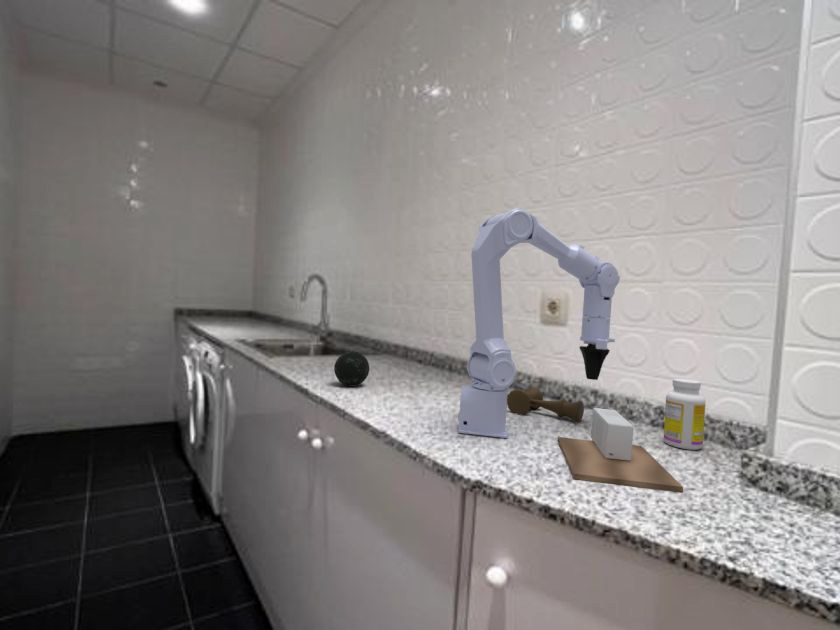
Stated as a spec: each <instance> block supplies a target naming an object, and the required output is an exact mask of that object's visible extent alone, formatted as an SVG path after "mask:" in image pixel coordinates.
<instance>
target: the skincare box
mask: <svg viewBox="0 0 840 630" xmlns="http://www.w3.org/2000/svg"><path fill="white" fill-rule="evenodd" d="M591 419H592V420H591V430H590V439H591V441H594V443H595V444H596V446H597V447H598V448H599V450H600V451H601V453H602V454H603V456H604V457H605V458H607V459H618V460H627V461H631V454H632V445H633V438H634V437H633V436H634V426H633V424H631V423H630V422H629V421H628V420H627V419H626V418H625V417H624V416H622V415H621V414H620V413H619V412H618V411H617V410H616V409H608V408H599V407H593V408H592V418H591Z"/></svg>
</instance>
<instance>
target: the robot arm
mask: <svg viewBox="0 0 840 630" xmlns="http://www.w3.org/2000/svg"><path fill="white" fill-rule="evenodd" d="M478 229H479V231H478V232H479V233H478V234H477V238H476V239H475V242H474V244H473V247H472V249H471V254H470V255H471V271H472V273H471V274H472V288H473V291H472V292H473V304H474V305H473V306H474V307H473V308H474V322H475V326H474V327H475V338H476V339H475V341H474V342H473V343H472V345H470V348H469V349H470V355H469V358H468V360H467V366H466V367H467V368H466V369H467V373H468V375H469V377H470V378H471V384H470V385H462V386H461V390H460V398H459V399H460V401H459V412H458V417H457V419H458V421H457V422H458V429H457V432H458V433H459V434H464V435H465V434H467V435H473V436H474V435H475V436H476V435H477V436H483V437H484V436H485V437H491V438H492V437H495V438H504V439H507V438H508V437H509V435H508V425H507V411H508V410H507V409H508V405H507V395H509V394H508V393H509V390H510V386H511V385H512V384H513V383H514V382H515V379H516V376H517V369H516V368H517V367H516V364H515V362H513V359H512V352H511V349H510V347H509V345H508V344H507V342H506V340H505V338H504V337H505V336H504V317H503V301H502V297H503V295H502V281H501V280H502V279H501V263H500V262H501V261H500V260H501V259H502V258H503V257H504V255H506V253H508V252H509V251H510V249H511V248H513V247H515V246H517V245H519V244H530V245H533V247H536V248H537V249H539V250H541V251H543V252H545V253H546V254H548V255H550V256H552V257H553V258H555V259H557V264H558V266H559V268H561V269H562V270H563V271H565V272H566V273H568V274H570V275H571V276H573V277H575V278H576V279H577V280H578V282H579V284H580V286H581V287H582V288H584V290H583V303H582V304H583V306H582V318H581V319H582V321H581V332H580V333H581V334H580V335H581V336H579V341H582V342H583V344H587V345H586V346H583V345H582V346H579V350H580V352H581V354H582V359H583V362H584V363H583V364H584V371H585V377H586V379H587V380H595V381H598V380H599V377H600V374H601V370H602V367H603V364H604V362H605V360H606V358H607V357H608V355H609V353H610V349H609V348H608V344H609V343H615V341H616V339H615V338H611V337H610V332H611V331H610V330H611V314H612V302H613V301H612V300H613V297H614V295H615V289H616V288H617V286H618V284H619V283H620V280H621V276H620V275H619V271H618V269H617V267H615V265H613V264H612V263H610V262H602V261H601V260H600V257H598V256H594V255H592V254H591V253H590V252H588V251H587V250H585V246H583V245H582V244H573V243H572V244H570V245H568V244H567V243H565V242H564V241H563V240H561V239H560V238H559V237H557V236H556V235H555V234H554V233H552V231H550V230H548V229H547V228H546V227H544V226H543V225H542V224H541V223H540V222H539V221H538V218H537V216H535V215H534V214H533V215H532V214H530V213H529V212H528V211H526V210H525V209H523V208H513V209H511V210H509V211H507V212H503V213H501V214H497V215H493V216H490V217H488V218H487V219H486V220H485V221H483V223H481V224H480V225H479V227H478Z"/></svg>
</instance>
